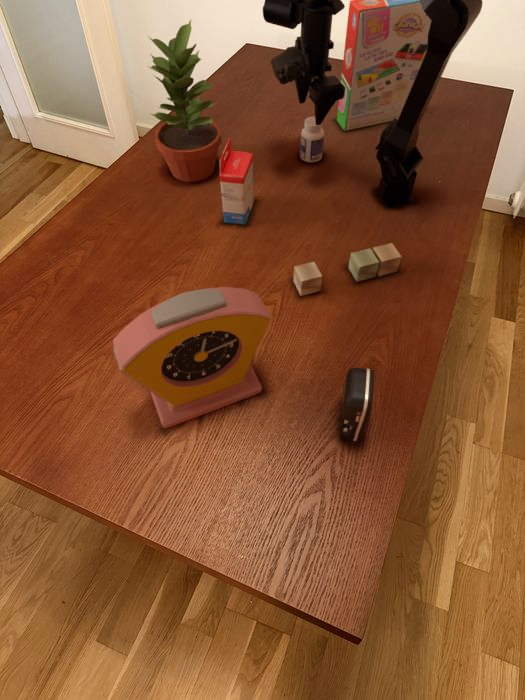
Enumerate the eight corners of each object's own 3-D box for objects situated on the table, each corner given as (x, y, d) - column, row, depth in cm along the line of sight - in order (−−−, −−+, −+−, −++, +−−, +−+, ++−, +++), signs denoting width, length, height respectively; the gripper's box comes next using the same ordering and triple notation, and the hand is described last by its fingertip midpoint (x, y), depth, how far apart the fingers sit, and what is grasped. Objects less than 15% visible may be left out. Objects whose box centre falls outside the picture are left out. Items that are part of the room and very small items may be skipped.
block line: (387, 258, 99) (392, 242, 96) (397, 271, 97) (401, 256, 94) (293, 281, 96) (294, 266, 93) (300, 296, 94) (301, 281, 90)
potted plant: (148, 181, 114) (116, 38, 90) (179, 145, 123) (157, 5, 98) (207, 196, 111) (190, 52, 87) (235, 158, 119) (226, 17, 95)
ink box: (246, 226, 105) (243, 164, 93) (223, 223, 106) (217, 161, 94) (254, 200, 110) (252, 138, 98) (232, 198, 111) (228, 136, 99)
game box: (407, 106, 132) (435, -15, 110) (417, 117, 129) (448, -5, 107) (335, 120, 129) (349, -2, 107) (343, 132, 126) (359, 8, 103)
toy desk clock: (147, 436, 77) (112, 356, 59) (131, 389, 82) (95, 302, 64) (277, 387, 82) (280, 300, 64) (255, 345, 87) (252, 254, 69)
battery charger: (339, 400, 80) (348, 360, 71) (362, 404, 80) (375, 364, 71) (335, 440, 76) (344, 402, 67) (360, 444, 76) (372, 407, 67)
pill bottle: (324, 152, 120) (328, 117, 113) (318, 164, 118) (322, 129, 110) (303, 148, 122) (305, 113, 114) (297, 160, 119) (299, 125, 111)
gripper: (259, 20, 99) (260, 99, 111) (294, 63, 88) (290, 144, 101) (311, 12, 101) (306, 90, 114) (351, 53, 91) (341, 133, 103)
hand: (309, 113), depth 108 cm, fingers open, 9 cm apart
